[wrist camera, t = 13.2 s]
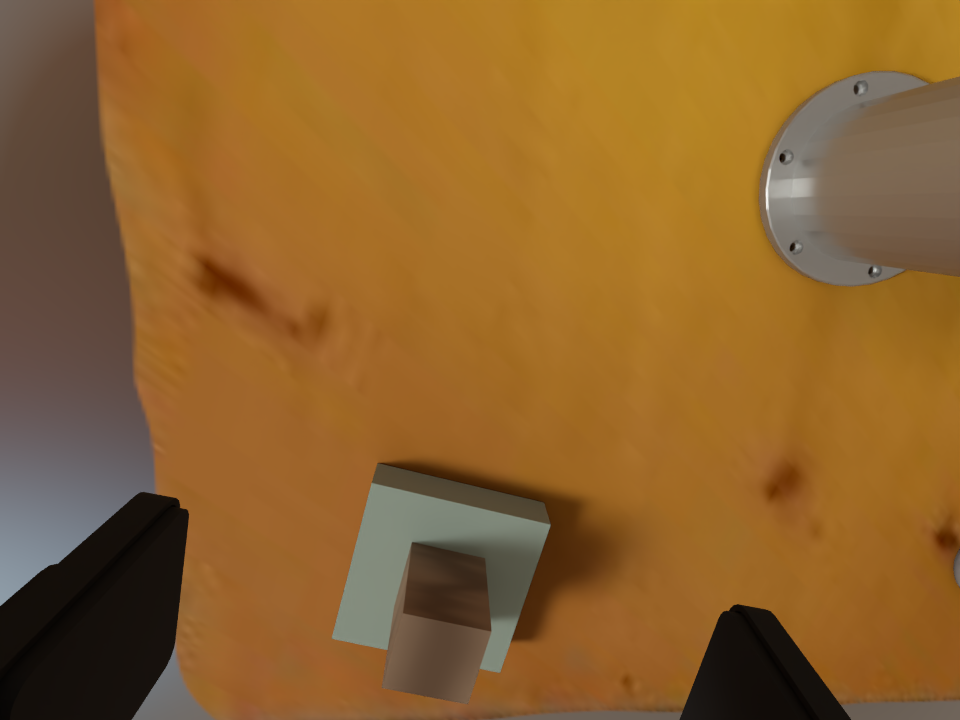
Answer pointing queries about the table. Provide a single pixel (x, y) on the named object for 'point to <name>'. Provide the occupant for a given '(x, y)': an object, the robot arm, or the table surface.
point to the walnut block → (439, 625)
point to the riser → (447, 525)
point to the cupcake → (957, 568)
